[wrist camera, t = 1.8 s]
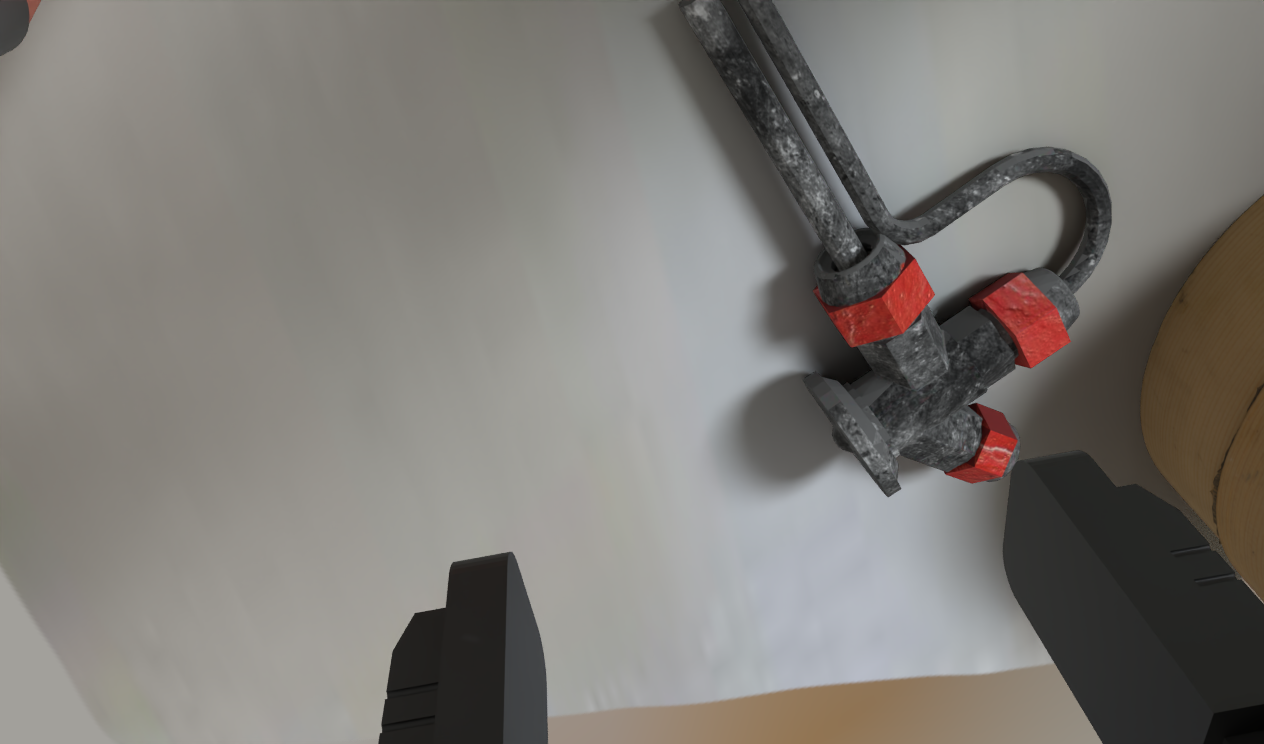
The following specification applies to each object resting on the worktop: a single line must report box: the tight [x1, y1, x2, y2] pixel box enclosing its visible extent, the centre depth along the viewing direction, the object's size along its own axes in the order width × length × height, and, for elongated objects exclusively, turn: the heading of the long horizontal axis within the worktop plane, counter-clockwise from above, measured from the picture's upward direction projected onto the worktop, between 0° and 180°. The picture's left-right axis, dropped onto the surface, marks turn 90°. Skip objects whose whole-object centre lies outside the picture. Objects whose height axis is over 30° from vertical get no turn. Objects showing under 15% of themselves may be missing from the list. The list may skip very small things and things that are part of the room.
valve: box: [679, 0, 1112, 497], centre depth 36 cm, size 6×26×15 cm
